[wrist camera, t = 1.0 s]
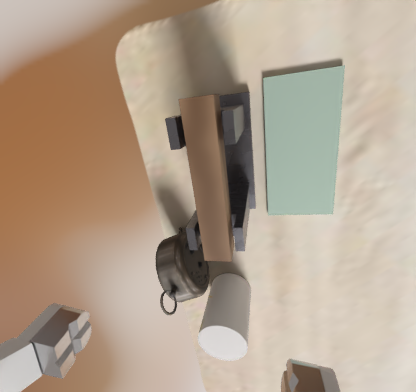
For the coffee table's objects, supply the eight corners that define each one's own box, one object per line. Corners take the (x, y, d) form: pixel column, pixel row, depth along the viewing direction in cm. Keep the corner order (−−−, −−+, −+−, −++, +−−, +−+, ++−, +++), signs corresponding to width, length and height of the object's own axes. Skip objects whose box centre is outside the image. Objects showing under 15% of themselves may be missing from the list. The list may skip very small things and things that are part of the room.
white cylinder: (206, 276, 49) (190, 327, 38) (243, 270, 46) (237, 323, 36) (219, 305, 51) (208, 361, 41) (256, 301, 49) (254, 359, 38)
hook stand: (249, 92, 34) (240, 90, 20) (255, 205, 40) (252, 262, 27) (196, 99, 36) (154, 102, 22) (210, 206, 42) (185, 260, 29)
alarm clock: (170, 225, 46) (128, 286, 31) (194, 216, 44) (160, 277, 29) (197, 268, 49) (169, 342, 34) (220, 261, 47) (200, 337, 32)
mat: (342, 66, 30) (344, 65, 29) (331, 211, 38) (333, 214, 37) (263, 78, 33) (263, 77, 32) (268, 213, 40) (268, 215, 40)
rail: (218, 94, 23) (212, 94, 21) (234, 245, 30) (231, 261, 27) (188, 98, 24) (178, 99, 21) (210, 245, 31) (204, 260, 28)
